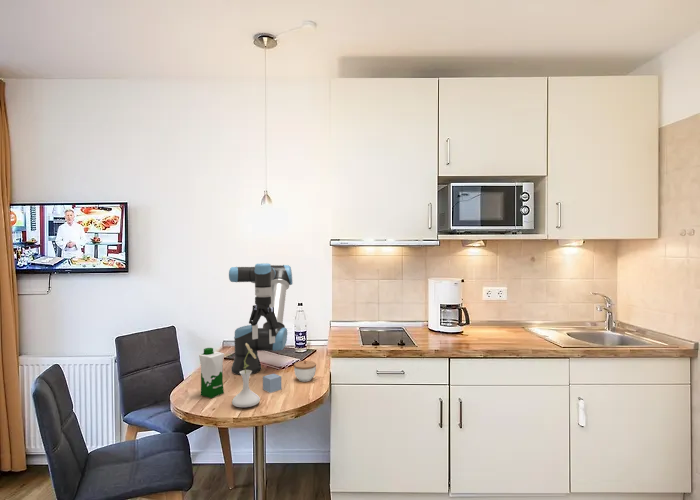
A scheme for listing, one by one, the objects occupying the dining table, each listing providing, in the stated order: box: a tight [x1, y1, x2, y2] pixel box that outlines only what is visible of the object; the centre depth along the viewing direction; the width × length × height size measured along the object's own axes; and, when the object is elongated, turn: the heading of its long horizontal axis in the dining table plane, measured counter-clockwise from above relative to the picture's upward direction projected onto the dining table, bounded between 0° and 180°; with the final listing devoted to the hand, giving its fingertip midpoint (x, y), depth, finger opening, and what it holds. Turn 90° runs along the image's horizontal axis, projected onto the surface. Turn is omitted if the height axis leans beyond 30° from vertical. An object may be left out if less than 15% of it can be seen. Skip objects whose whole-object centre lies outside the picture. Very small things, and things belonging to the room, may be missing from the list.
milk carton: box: [198, 347, 225, 399], centre depth 182 cm, size 9×9×20 cm
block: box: [262, 373, 283, 394], centre depth 188 cm, size 6×6×6 cm
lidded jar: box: [293, 360, 317, 383], centre depth 201 cm, size 11×11×9 cm
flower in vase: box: [231, 343, 261, 408], centre depth 171 cm, size 13×11×25 cm
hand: (263, 341), depth 195 cm, fingers open, 13 cm apart
